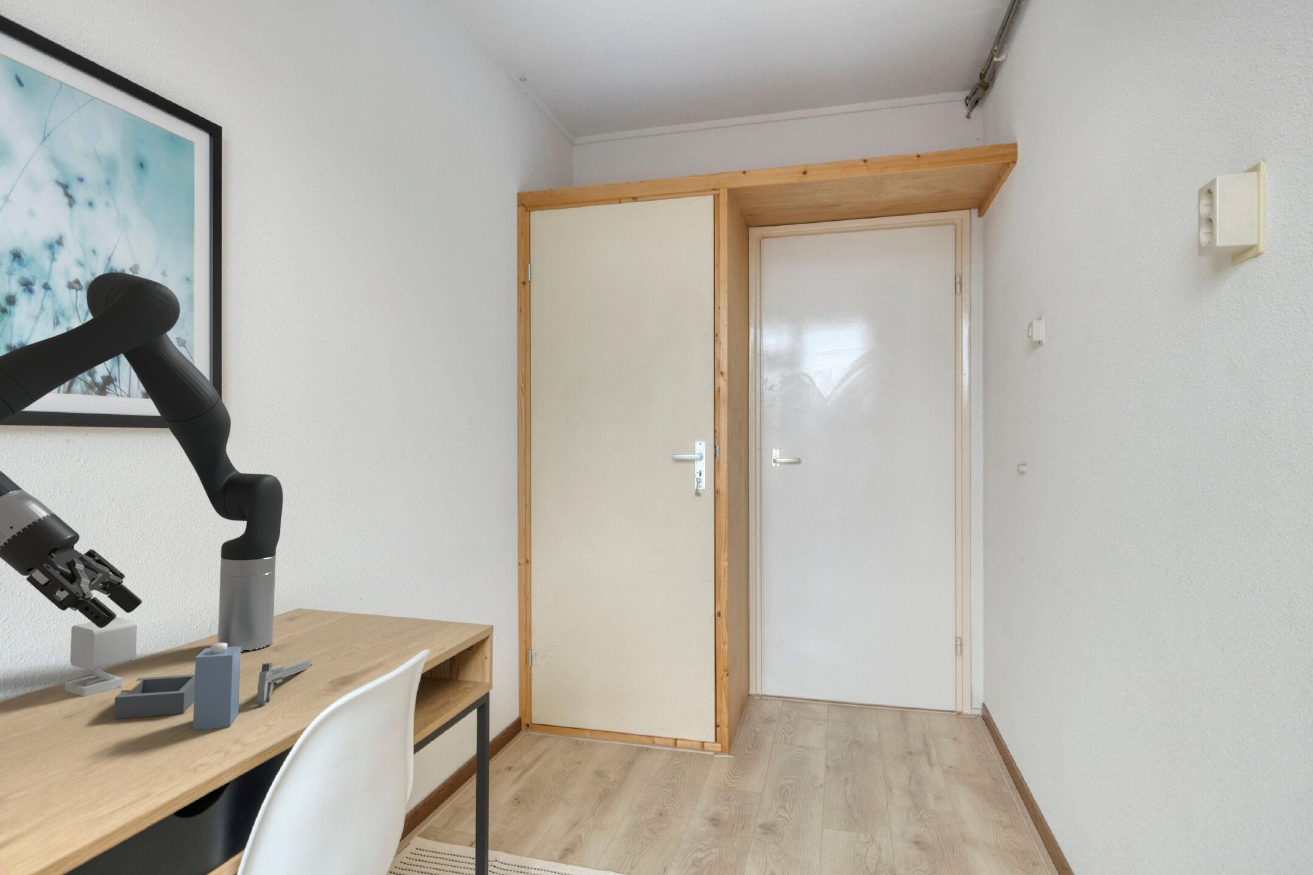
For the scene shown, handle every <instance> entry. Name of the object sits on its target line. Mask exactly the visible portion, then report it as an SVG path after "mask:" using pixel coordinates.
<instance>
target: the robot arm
mask: <svg viewBox="0 0 1313 875" xmlns="http://www.w3.org/2000/svg"><path fill="white" fill-rule="evenodd" d="M86 304H87V308H88V311H89V313H90V315H91V317H92V318H90V319H89V320H87V321H86V322H83V323H82V324H80V325H78V326H76V327H73V328H72V329H68V330H67V331H64V332H61V333H58V334H57V335H53V336H51V337H48V338H45V339H41V340H39V341H35V342H33V343H29V344H27V345H25V346H24V345H23V346H20V347H19V348H16V349H13V350H11V351H9V352H6V353H4V354H2V355H0V424H2V423H4V422H5V421H8V420H10V418H11V419H12V417H14V416H16V415H18V413H20V412H22V411H24V410H25V409H27V408H28V407H30V406H31V405H32V404H34V403H35V402H37V401H38V400H40V399H42V398H43V397H45V396H46V395H48V394H50V393H51V392H52V391H54V390H56V389H58V388H59V387H61V386H63V385H64V384H66V383H68V382H69V381H71V380H73V379H75V378H77V377H79V376H80V375H82V374H84V373H86V372H88V371H90V370H92V369H94V368H96V367H98V366H99V365H102V364H104V363H106V362H108V361H110V360H113V359H114V358H116V357H118V356H121V355H122V356H123V357H124V359H125V360H126V361H127V362H128V364H129V365H130V367H131V368H132V370H133V372H134V373H135V375H136V377H137V379H138V380H139V382H140V384H141V385H142V387H143V389H144V390H145V392H146V393H147V396H149V398H150V400H151V402H152V403H153V405H154V406H155V408H156V410H157V412H158V414H159V415H160V417H161V418H162V420H163V422H164V423H165V425H166V427H168V429H169V431H170V432H171V434H172V435H173V437H175V439H176V440H177V442H178V444H179V445H180V448H181V449H182V450H183V452H184V453H185V455H186V457H187V459H188V460H189V462H190V464H191V465H192V467H193V469H194V470H195V472H196V475H197V476H198V478H199V481H200V483H201V485H202V487H203V490H204V492H205V495H206V496H207V498H208V500H209V502H210V504H211V507H212V508H213V509H214V510H215V512H216V514H217V515H218V516H220V517H221V518H223V519H224V520H229V521H235V522H236V521H237V522H246V525H245V529H244V532H243V533H242V534H240V536H238V537H235V538H232V539H230V540H229V539H228V540H226V541H224V542H223V543H222V544H221V548H220V570H219V571H220V575H219V576H220V577H219V598H218V600H219V603H218V605H219V606H218V624H217V625H218V626H217V628H218V630H217V643H227V647H236V646H241V650H249V651H254V650H253V649H256V648H260V649H263V647H264V648H266V646H267V645H269V646H271V645H272V644H273V643H272V642H273V641H274V640H273V638H274V618H275V617H274V616H275V615H274V614H275V613H274V612H275V592H276V590H275V588H276V559H277V558H276V557H277V556H276V555H277V546H278V544H279V540H280V535H281V527H282V526H281V525H282V518H283V516H282V514H283V506H284V504H283V503H284V493H283V492H284V491H283V486H282V484H281V481H280V480H279V478H278V477H277V476H275V475H272V474H267V473H246V472H245V473H244V472H243V473H242V472H240V471H238V470H237V468H236V467H235V466H234V465H233V463H232V461H231V459H230V457H229V455H228V452H227V445H228V441H229V437H230V433H231V427H232V426H231V425H232V420H231V416H230V412H229V411H228V409H227V406H226V405H225V403H224V402H223V400H222V398H221V396H220V394H219V392H218V390H216V388H215V387H214V385H213V384H212V383H211V381H210V380H209V379H208V378H207V377H206V376H205V374H203V373H202V371H201V370H200V369H198V368H197V367H196V366H195V365H194V363H193V362H192V361H190V360H189V358H187V357H186V356H185V355H184V354H183V353H182V351H180V350H179V348H177V346H176V345H175V343H173V341H172V340H171V338H170V337H169V335H168V334H167V333H168V332H170V331H171V330H172V329H173V328H174V327H175V325H176V324H177V323H178V320H179V318H180V313H181V305H180V301H179V299H178V297H177V295H176V294H175V293H174V292H173V290H171V289H170V288H169V287H167V286H166V285H164V284H162V283H160V282H158V281H155V280H152V279H149V278H147V277H142V276H138V275H134V274H131V273H125V272H113V271H112V272H105V273H103V274H99V275H97V276H96V277H94V278H93V280H92V281H91V282H90V284H89V285H88V288H87V292H86ZM79 541H80V534H79V533H78V532H77V531H76V530H74V529H73V528H72V527H71V526H70V525H69V524H68V523H66V522H65V521H64V520H63V519H61V517H59V516H58V515H57V514H56V513H54V512H53V511H52V510H51V509H50V508H49V507H48V506H46V505H45V504H44V503H43V502H41V501H40V500H39V499H38V498H36V497H34V496H32V495H31V494H29V493H28V492H27V491H26V490H24V489H23V488H21V487H20V486H19V485H18V484H17V483H16V482H14V481H13V480H12V479H11V478H10V477H8V475H6V474H5V473H4V472H2V471H1V470H0V559H1V560H3V561H4V562H5V563H6V564H8V566H10V567H12V569H14V570H15V572H17V573H19V575H21V576H24V577H26V581H27V582H28V583H29V584H30V585H31V586H32V587H34V588H35V589H36V590H37V591H38V592H39V593H41V594H42V595H43V596H44V597H45V598H46V599H47V600H49V601H50V603H52V604H53V605H55V607H57V608H58V609H59V610H61V611H67V609H70V610H72V611H75V612H76V611H78V612H79V613H80V614H82V615H83V616H84V617H85V618H87V620H88V621H90V622H93V623H94V624H95V625H96V626H97V627H99V628H103V627H105V626H107V625H108V624H109V623H110V622H111V621H113V620H114V619H115V618H117V614H116V613H115V612H114V611H113V610H111V609H110V607H108V606H107V605H106V604H105V603H103V602H102V601H101V600H100V599H98V597H96V596H94V595H93V593H92V591H97V592H98V593H100V594H103V595H106V596H107V598H108V599H109V600H111V601H112V602H113V603H114V604H116V606H118V607H119V608H120V609H121V610H123V611H124V612H125V613H127V614H129V613H132V612H134V611H135V610H136V609H137V608H138V607H139V606H141V604H142V603H143V600H142V599H141V598H140V597H139V596H137V595H136V594H135V593H134V592H133V591H132V590H130V589H129V588H128V587H127V586H126V585H124V579H125V578H126V576H125V574H124V572H122V571H120V570H119V569H118V568H117V567H115V566H114V565H113V564H112V563H110V562H109V561H108V560H107V559H105V558H104V557H103V556H102V555H101V554H99V553H98V552H97V551H96V550H95V549H92V548H90V549H88V550H87V551H86V552H84V553H81V552H80V551H78V550H77V549H75V545H77V543H78V542H79ZM270 644H271V645H270ZM267 647H268V646H267ZM256 650H257V649H256Z"/></svg>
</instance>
